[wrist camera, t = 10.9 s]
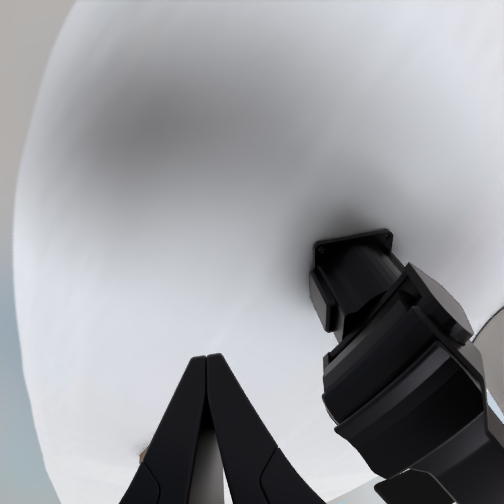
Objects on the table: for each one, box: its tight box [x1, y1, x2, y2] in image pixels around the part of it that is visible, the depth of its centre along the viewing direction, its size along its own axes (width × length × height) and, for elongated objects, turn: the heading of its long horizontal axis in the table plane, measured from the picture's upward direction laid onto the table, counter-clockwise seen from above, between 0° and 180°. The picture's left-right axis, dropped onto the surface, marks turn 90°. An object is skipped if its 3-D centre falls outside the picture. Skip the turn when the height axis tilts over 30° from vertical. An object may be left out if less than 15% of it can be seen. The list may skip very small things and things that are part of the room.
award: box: [374, 469, 455, 504], centre depth 25 cm, size 15×5×30 cm, turn 115°
